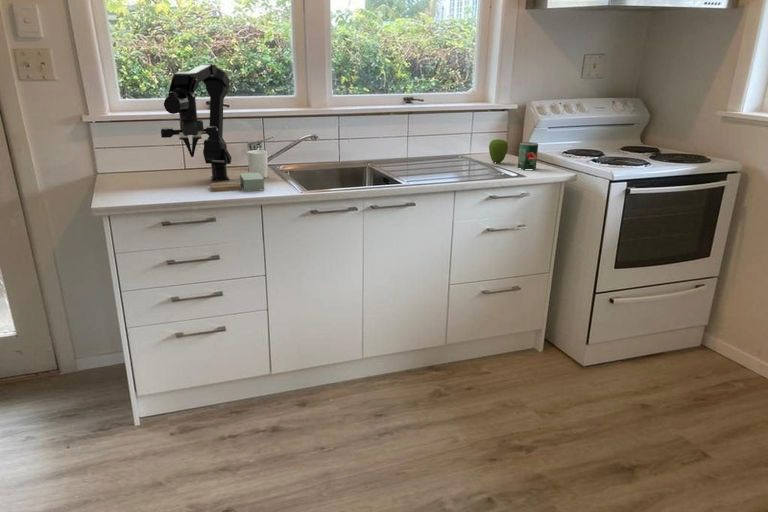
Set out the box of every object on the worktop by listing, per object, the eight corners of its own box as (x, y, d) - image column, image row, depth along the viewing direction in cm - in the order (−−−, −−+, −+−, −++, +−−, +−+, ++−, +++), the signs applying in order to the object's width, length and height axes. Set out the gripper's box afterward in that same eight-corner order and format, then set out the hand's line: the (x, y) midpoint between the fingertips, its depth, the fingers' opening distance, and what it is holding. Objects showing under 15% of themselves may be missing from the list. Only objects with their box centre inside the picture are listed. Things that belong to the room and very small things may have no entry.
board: (210, 188, 214) (210, 183, 214) (238, 187, 217) (238, 181, 217) (212, 192, 208) (211, 187, 207) (240, 191, 211) (240, 185, 211)
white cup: (247, 175, 235) (245, 150, 232) (266, 174, 238) (265, 149, 235) (250, 179, 228) (248, 153, 225) (270, 178, 231) (269, 152, 228)
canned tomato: (532, 171, 251) (535, 145, 248) (515, 169, 255) (517, 143, 251) (538, 168, 258) (540, 143, 254) (520, 166, 262) (522, 141, 258)
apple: (506, 165, 263) (508, 139, 259) (487, 164, 265) (489, 138, 261) (507, 162, 271) (509, 137, 267) (488, 161, 273) (490, 136, 269)
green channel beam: (240, 184, 220) (239, 173, 218) (259, 183, 222) (258, 172, 221) (244, 191, 209) (243, 179, 208) (264, 189, 211) (263, 178, 210)
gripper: (158, 114, 190) (163, 162, 195) (218, 112, 196) (221, 159, 201) (158, 110, 200) (163, 156, 205) (215, 109, 206) (218, 154, 211)
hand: (192, 156), depth 205 cm, fingers closed
